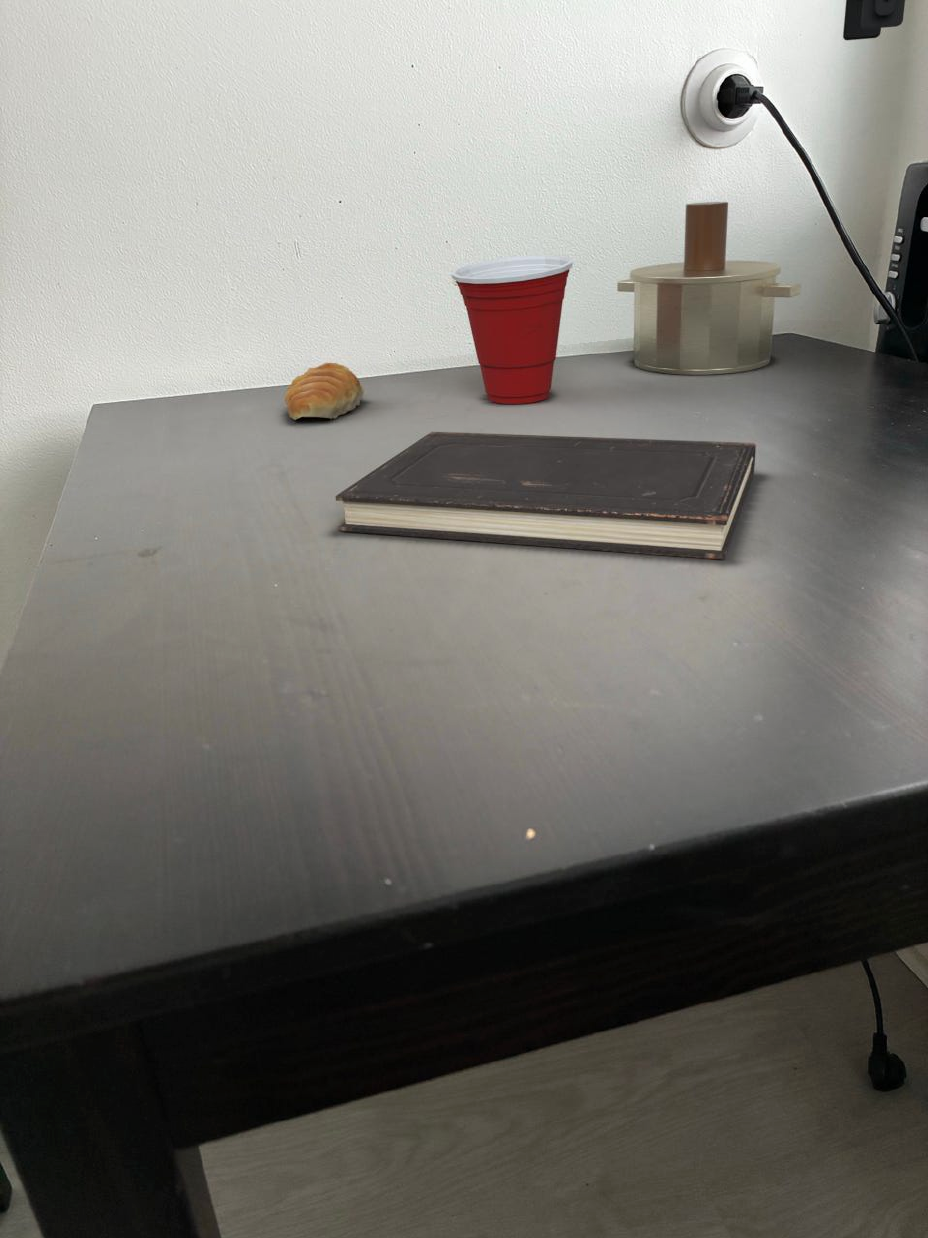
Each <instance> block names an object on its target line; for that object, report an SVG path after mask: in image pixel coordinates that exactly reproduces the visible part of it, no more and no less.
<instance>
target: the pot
mask: <svg viewBox="0 0 928 1238" xmlns="http://www.w3.org/2000/svg"><path fill="white" fill-rule="evenodd" d="M616 283H617V287H616V289H617V290H616V291H617V292H625V293H626V292H627V293H634V294H633V306H634V307H633V360H634V365H635V367H637V368H639V369H641V370H645V371H648V372H653V373H659V374H668V375H681V376H682V375H683V376H700V375H701V376H707V375H710V376H711V375H725V374H734V373H741V372H742V373H743V372H748V371H752V370H753V371H754V370H757V369H759V368H760V369H761V368H763V367H765V366H767V365H769V364H770V362H771V356H772V345H773V333H774V332H773V331H774V317H775V316H774V315H775V301H776V298H792V297H795V296H799V295H801V292H802V291H801V290H802V283H801V282H777V275H776V276H773V277H769V278H764V279H757V280H750V281H741V282H729V283H713V284H655V283H644V282H638V281H634V280H631V279H630V278H627V279H623V280H619V281H617V282H616Z"/></svg>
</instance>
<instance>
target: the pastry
mask: <svg viewBox="0 0 928 1238" xmlns="http://www.w3.org/2000/svg"><path fill="white" fill-rule="evenodd" d="M364 393H365V387H364V386H363V385H362V384H361V382H360V380H359V378H358V377H357V376H356V375H355V374H354V373H353V371H351V369H349V367H347V366H345V365H343V364H339V363H337V362H325V363H321V364H319V365H318V366H316V367H308V368H307V371H305V372H304V374H301V375H298V376H296V377H295V378H294V379H293V380H292V381H291V384H290V385H289V387H288V388H287V390H286V393H285V396H284V398H285V399H284V400H285V403H286V409H287V413H288V416H289V417H290V419H293V420H294V421H296V420H298V419H300V418H302V417H303V418H325V419H330V420H332V419H334V420H335V419H337V418H338V417H339V416H341V415H346V414H348V413H349V412H352V411H353V410H355V409H356V408H357V406H360V404H361V400H362V398H363V395H364Z"/></svg>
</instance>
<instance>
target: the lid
mask: <svg viewBox="0 0 928 1238" xmlns="http://www.w3.org/2000/svg"><path fill="white" fill-rule="evenodd" d="M684 213H685V215H684V216H685V217H684V249H683V262H673V263H672V262H671V263H663V264H653V265H648V266H641V267H637V268H634V269H632V270H630V271H629V279H631V280H634V281H638V282H644V283H655V284H713V283H729V282H741V281H750V280H757V279H764V278H769V277H773V276H776V277H777V276H779V275H780V274H781V272H782V266H781V265H780V264H778V263H774V262H767V261H756V260H726V256H727V234H728V217H729V215H728V213H729V202H728V201H708V202H693V203H686V204H685V212H684Z"/></svg>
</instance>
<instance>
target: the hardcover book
mask: <svg viewBox="0 0 928 1238" xmlns="http://www.w3.org/2000/svg"><path fill="white" fill-rule="evenodd" d="M756 448H757V446H756V443H755V442H738V441H735V442H734V441H712V440H711V441H709V440H685V439H684V440H682V439H680V440H679V439H677V440H676V439H653V438H647V439H646V438H626V437H625V438H623V437H595V436H570V435H568V436H567V435H566V436H565V435H542V434H541V435H538V434H508V433H485V432H453V431H452V432H451V431H431V432H429V433H427V434H426V435H424V436H423V437H421V438H419V439H418V440H417V441H415V442H414V443H413V444H411V445H409V446H408V447H407V448H405V449H403V450H402V451H400V452H399V453H398V454H396V455H394V456H393V457H391V458H390V459H389V460H387V461H386V462H384V463H383V464H381V465H379V466H378V467H377V468H375V469H374V470H372V471H370V472H369V473H367V474H366V475H365V476H363V477H361V478H360V479H358V480H357V481H356V482H355V483H353V484H351V485H350V486H348V487H346V488H345V489H344V490H342V491H340V492H339V493H338V494H336V495H335V502H342V504H343V509H344V519H345V521H344V522H343V523H342V524H341V525H339V526H338V530H339V531H340V532H348V533H360V534H361V533H363V534H373V535H374V534H375V535H388V536H400V537H401V536H403V537H415V538H427V539H428V538H429V539H430V538H431V539H439V540H440V539H441V540H442V539H443V540H453V541H454V540H455V541H468V542H469V541H470V542H482V543H483V542H484V543H495V544H496V543H497V544H510V545H511V544H512V545H524V546H537V547H549V548H564V549H576V550H589V551H603V552H614V553H615V552H616V553H617V552H618V553H628V554H629V553H630V554H631V553H632V554H643V555H657V556H668V557H669V556H671V557H683V558H697V559H712V560H725V558H726V556H727V552H728V550H729V547H730V544H731V542H732V538H733V535H734V533H735V530H736V528H737V525H738V521H739V518H740V515H741V513H742V510H743V507H744V504H745V501H746V499H747V495H748V493H749V491H750V487H751V485H752V481H753V479H754V475H755V464H756V451H757V449H756Z"/></svg>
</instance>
